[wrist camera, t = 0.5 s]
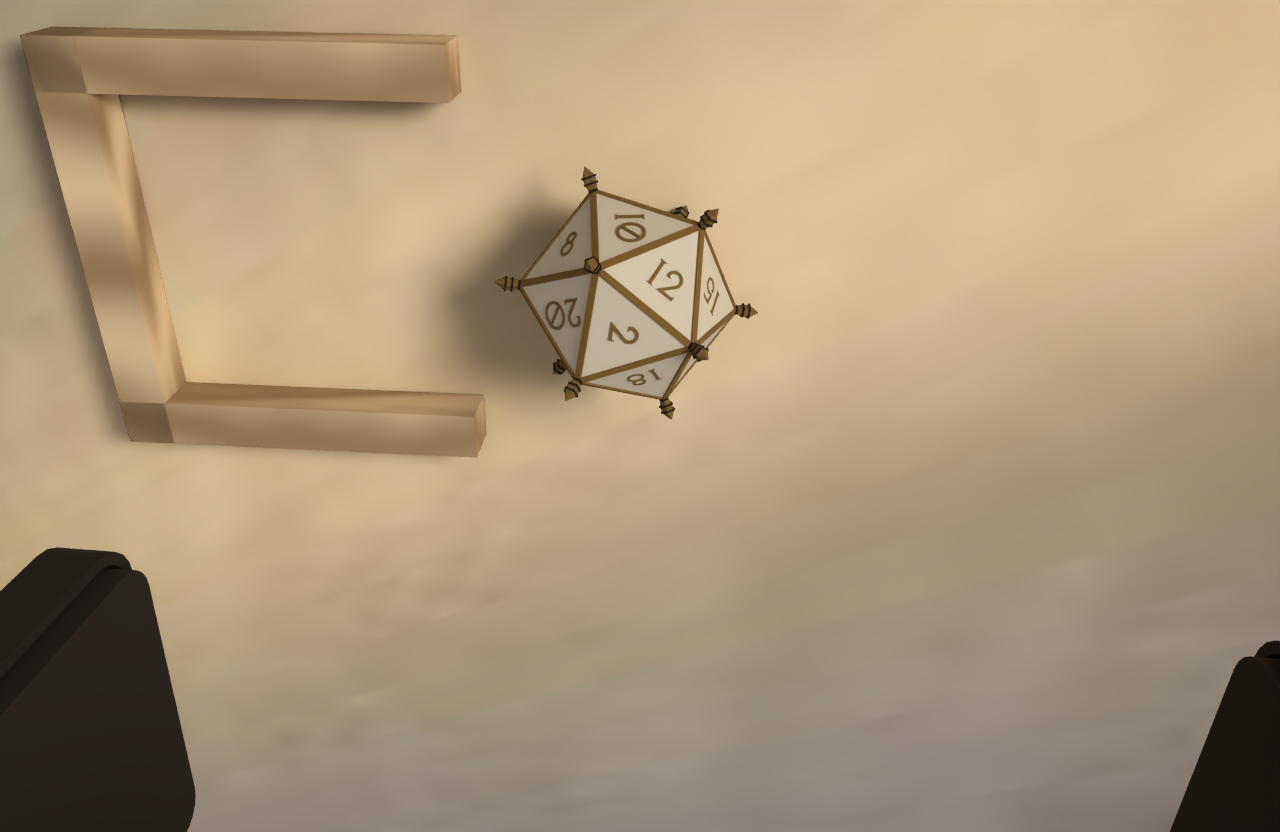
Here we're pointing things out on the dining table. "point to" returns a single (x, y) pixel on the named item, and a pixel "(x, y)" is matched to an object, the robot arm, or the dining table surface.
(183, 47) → the u-shaped tan bracket
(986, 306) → the dining table surface
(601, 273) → the game die
